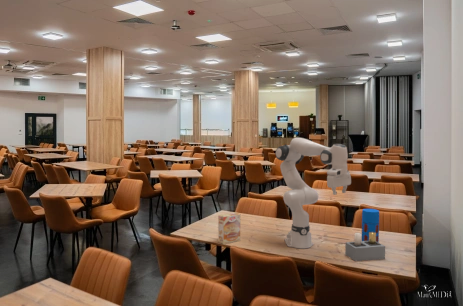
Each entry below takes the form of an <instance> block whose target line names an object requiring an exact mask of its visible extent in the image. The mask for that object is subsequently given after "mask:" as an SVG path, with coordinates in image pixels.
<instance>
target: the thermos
mask: <svg viewBox="0 0 463 306" xmlns="http://www.w3.org/2000/svg"><path fill="white" fill-rule="evenodd" d="M361 211H362V212H361V241H369V232H375V233H376V242H378V243H380V242H379V241H380V240H379V239H380V238H379V237H380V235H379V233H380V210H378V209H375V208H363V209H362V210H361Z"/></svg>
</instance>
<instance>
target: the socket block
mask: <svg viewBox="0 0 463 306" xmlns="http://www.w3.org/2000/svg"><path fill="white" fill-rule="evenodd" d="M344 247H345V249H344V250H345V251H344V252H345V253H344V254H345V256H346V257H348V258H349V259H351V260H353V261H354V262H362V260H365V261H375V260H385V258H386V246H385V245H384V244H382V243H380V242H379V243H378V242H376V244H370V243H369V241H362V240H361V245H355V244H354V241H346V242H345V246H344Z"/></svg>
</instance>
